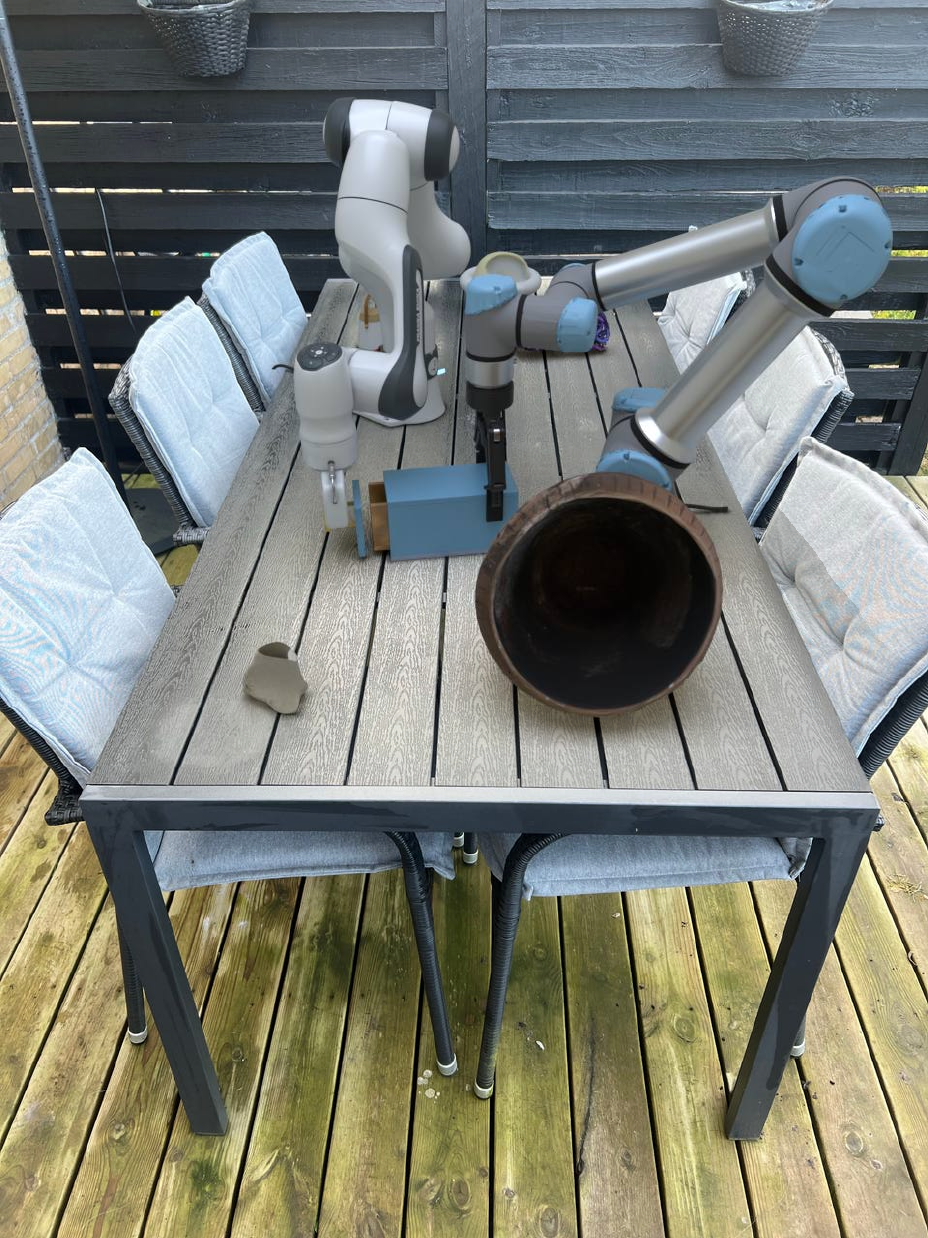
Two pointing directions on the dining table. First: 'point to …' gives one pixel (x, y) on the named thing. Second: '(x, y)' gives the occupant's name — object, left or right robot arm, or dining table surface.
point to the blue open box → (443, 510)
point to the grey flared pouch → (275, 678)
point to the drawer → (377, 516)
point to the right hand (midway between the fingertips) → (488, 502)
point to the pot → (600, 594)
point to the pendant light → (369, 328)
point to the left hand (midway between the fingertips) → (338, 522)
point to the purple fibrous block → (599, 336)
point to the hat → (505, 271)
